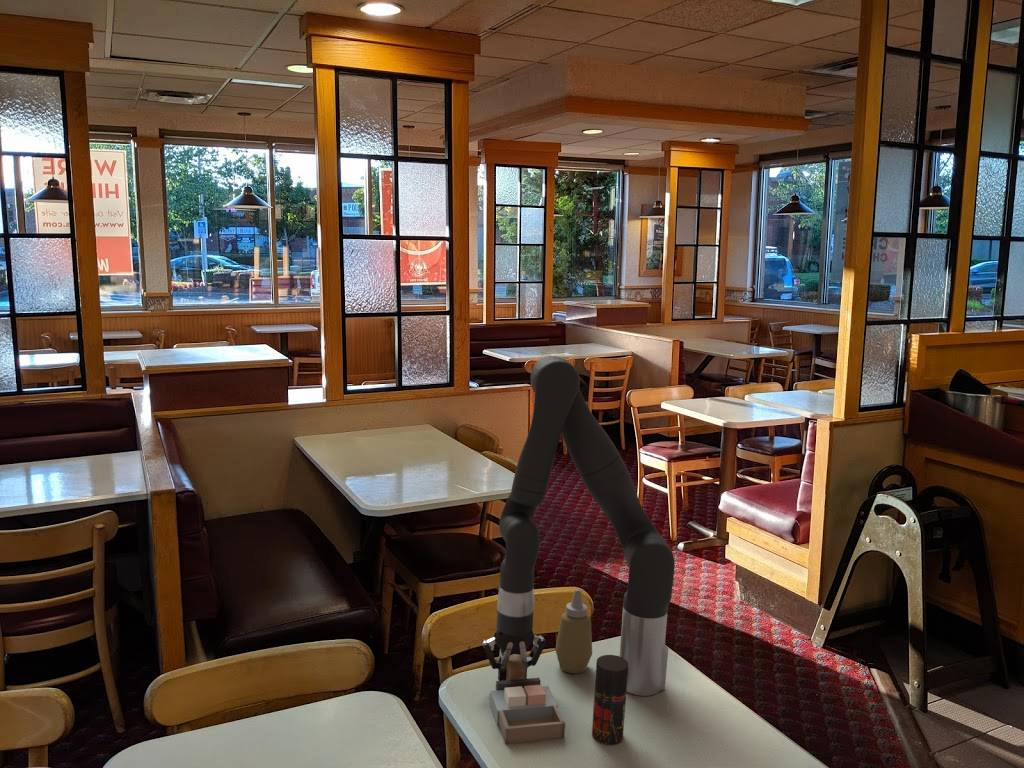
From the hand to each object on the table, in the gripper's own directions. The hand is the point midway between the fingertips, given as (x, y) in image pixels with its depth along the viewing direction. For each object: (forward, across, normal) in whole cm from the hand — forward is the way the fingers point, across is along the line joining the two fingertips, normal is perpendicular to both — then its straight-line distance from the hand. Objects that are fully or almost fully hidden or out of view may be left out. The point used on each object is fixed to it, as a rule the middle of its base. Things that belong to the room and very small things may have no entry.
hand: (511, 683), depth 169 cm
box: (0, 0, +16) cm, 16 cm away
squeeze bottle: (+1, -15, -5) cm, 16 cm away
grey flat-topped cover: (0, 0, +10) cm, 10 cm away
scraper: (0, 0, 0) cm, 0 cm away
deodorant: (+1, -14, +20) cm, 24 cm away
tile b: (-3, +2, +11) cm, 11 cm away
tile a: (-3, -2, +11) cm, 11 cm away
